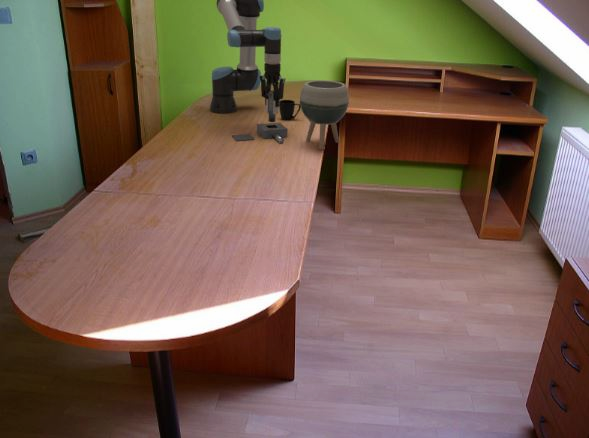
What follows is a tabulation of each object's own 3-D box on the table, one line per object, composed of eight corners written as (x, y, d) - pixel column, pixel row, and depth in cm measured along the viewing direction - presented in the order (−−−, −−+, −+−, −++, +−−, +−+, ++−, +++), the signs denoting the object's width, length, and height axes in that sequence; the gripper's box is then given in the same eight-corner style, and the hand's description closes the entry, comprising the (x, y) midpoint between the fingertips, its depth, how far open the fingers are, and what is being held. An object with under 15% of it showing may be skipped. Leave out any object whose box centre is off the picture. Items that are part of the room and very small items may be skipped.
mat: (231, 135, 261) (231, 134, 261) (249, 134, 264) (249, 133, 263) (236, 141, 253) (236, 140, 253) (254, 139, 256) (254, 138, 256)
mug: (296, 122, 286) (296, 104, 282) (276, 119, 291) (276, 101, 287) (303, 119, 293) (303, 101, 289) (283, 116, 297) (283, 99, 293)
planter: (350, 140, 259) (355, 82, 247) (338, 154, 240) (343, 91, 228) (306, 135, 265) (309, 77, 253) (291, 148, 246) (293, 86, 234)
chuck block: (256, 132, 268) (256, 124, 266) (279, 130, 272) (279, 122, 270) (269, 144, 250) (269, 136, 248) (293, 142, 254) (293, 134, 252)
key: (265, 121, 260) (265, 91, 254) (272, 119, 265) (273, 89, 259) (271, 123, 258) (271, 92, 252) (278, 120, 263) (279, 90, 257)
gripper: (253, 61, 251) (253, 111, 261) (282, 65, 243) (281, 117, 253) (262, 59, 257) (262, 108, 267) (291, 63, 249) (290, 114, 259)
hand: (272, 112), depth 260 cm, fingers closed on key, 3 cm apart
